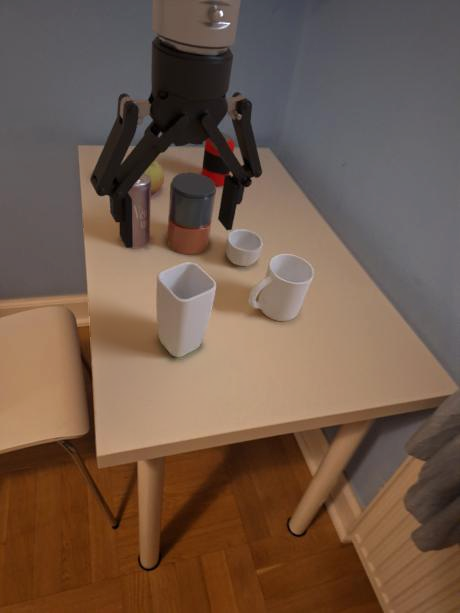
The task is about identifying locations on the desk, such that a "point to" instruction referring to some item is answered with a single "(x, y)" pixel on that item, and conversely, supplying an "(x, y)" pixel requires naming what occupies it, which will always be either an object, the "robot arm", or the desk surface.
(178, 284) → the cup
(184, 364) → the desk surface
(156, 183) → the apple
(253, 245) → the teacup
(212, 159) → the soda can
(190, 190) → the tumbler stack
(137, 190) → the beverage can
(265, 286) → the mug
